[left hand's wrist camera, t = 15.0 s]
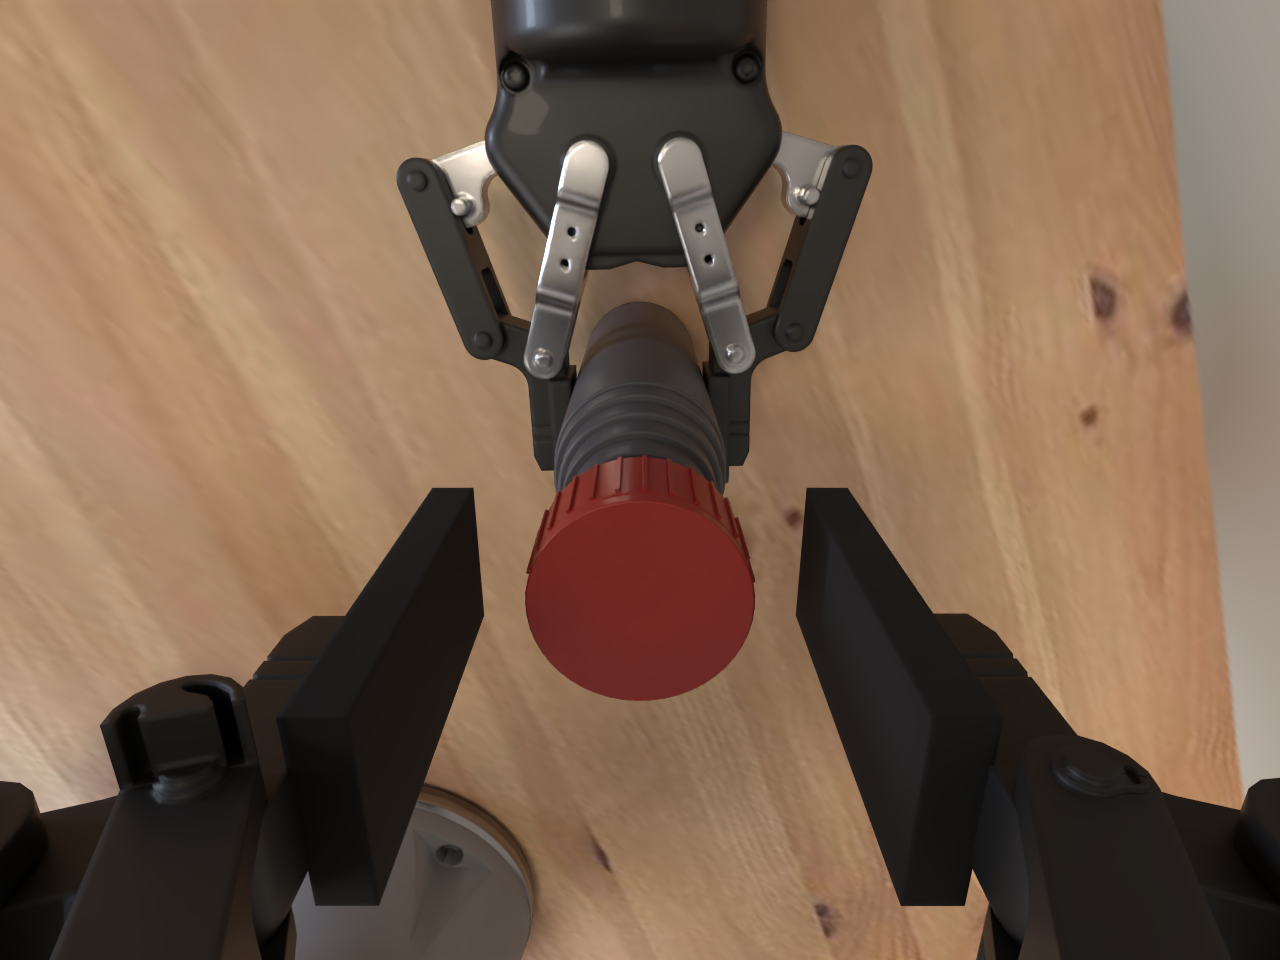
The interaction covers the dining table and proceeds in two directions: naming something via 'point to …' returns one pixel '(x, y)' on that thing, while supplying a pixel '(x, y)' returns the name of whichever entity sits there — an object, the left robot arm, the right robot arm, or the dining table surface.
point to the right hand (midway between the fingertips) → (643, 474)
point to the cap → (640, 580)
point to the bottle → (640, 399)
